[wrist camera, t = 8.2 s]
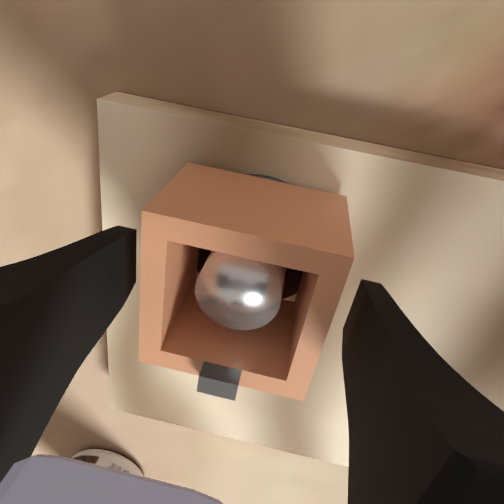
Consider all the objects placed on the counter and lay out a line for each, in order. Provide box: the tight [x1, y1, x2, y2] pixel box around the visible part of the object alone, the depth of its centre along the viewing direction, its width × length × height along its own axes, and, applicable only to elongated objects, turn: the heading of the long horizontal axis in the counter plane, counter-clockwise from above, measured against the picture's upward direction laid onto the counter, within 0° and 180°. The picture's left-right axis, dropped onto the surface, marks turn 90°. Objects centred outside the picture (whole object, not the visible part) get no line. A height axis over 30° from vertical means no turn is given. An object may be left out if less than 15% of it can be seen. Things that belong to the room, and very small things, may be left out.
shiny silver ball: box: [195, 174, 303, 330], centre depth 14 cm, size 5×5×5 cm
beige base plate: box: [97, 92, 504, 467], centre depth 17 cm, size 20×16×2 cm
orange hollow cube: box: [138, 162, 354, 401], centre depth 13 cm, size 5×5×5 cm
